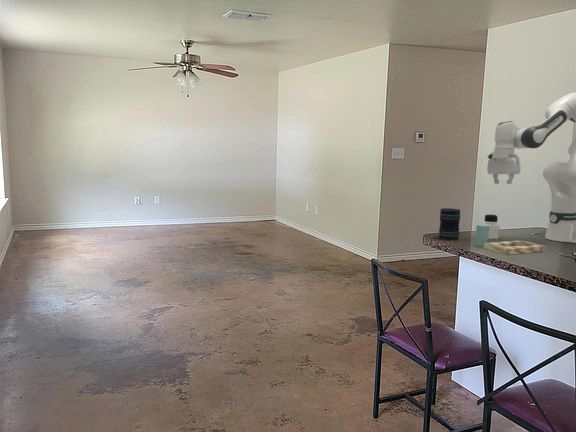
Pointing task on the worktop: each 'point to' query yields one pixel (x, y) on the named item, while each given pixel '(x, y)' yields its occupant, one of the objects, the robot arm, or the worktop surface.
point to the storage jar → (449, 224)
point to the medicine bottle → (492, 226)
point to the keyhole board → (514, 247)
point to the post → (481, 235)
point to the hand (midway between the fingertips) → (502, 183)
